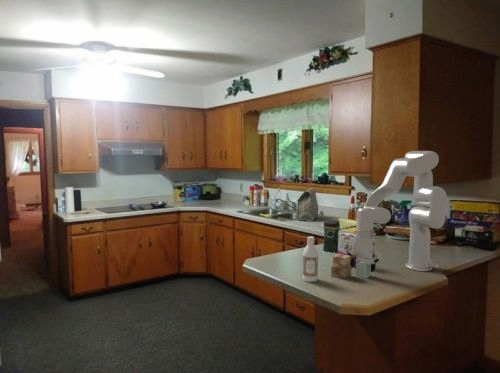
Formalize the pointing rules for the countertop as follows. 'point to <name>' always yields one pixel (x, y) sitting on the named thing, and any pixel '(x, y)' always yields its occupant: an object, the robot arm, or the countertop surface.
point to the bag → (307, 206)
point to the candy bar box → (346, 244)
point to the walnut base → (341, 272)
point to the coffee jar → (331, 235)
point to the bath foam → (310, 262)
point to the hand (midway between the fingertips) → (362, 269)
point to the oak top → (341, 261)
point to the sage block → (363, 269)
